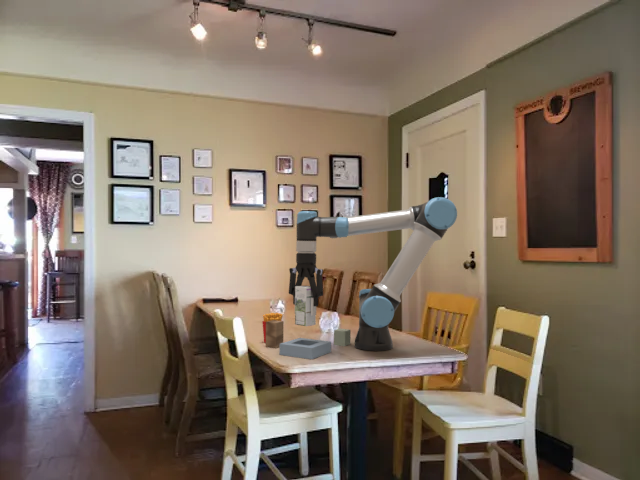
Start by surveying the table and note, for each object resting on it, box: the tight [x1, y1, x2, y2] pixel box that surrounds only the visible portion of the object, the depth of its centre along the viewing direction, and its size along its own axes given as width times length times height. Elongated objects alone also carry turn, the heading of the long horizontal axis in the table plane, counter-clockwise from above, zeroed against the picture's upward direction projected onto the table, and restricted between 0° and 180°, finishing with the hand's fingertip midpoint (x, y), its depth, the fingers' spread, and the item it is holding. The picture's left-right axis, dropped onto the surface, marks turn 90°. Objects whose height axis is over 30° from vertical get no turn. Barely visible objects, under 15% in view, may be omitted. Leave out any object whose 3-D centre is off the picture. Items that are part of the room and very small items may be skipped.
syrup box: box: [294, 285, 317, 327], centre depth 180 cm, size 6×6×14 cm
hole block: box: [278, 337, 332, 360], centre depth 180 cm, size 14×14×4 cm
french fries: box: [261, 312, 284, 344], centre depth 201 cm, size 8×4×12 cm, turn 119°
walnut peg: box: [265, 320, 284, 349], centre depth 192 cm, size 5×5×10 cm
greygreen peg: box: [333, 328, 352, 347], centre depth 197 cm, size 5×5×6 cm
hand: (305, 314), depth 180 cm, fingers closed on syrup box, 6 cm apart
